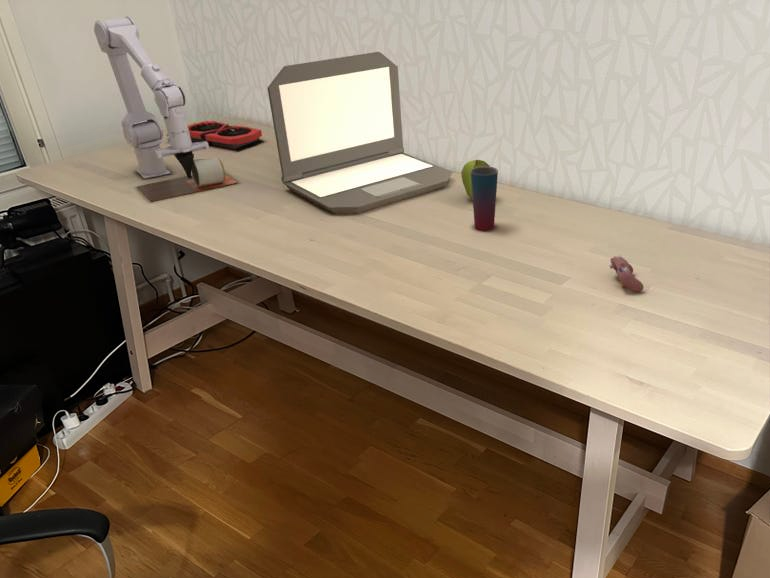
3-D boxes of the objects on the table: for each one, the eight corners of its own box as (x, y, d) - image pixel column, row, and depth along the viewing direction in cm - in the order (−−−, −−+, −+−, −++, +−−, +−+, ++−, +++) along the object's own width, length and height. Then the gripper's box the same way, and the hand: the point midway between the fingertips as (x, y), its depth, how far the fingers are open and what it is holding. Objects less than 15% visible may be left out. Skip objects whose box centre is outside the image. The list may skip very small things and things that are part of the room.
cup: (500, 224, 181) (501, 167, 173) (492, 233, 176) (493, 176, 168) (476, 220, 183) (475, 165, 175) (467, 230, 178) (466, 173, 170)
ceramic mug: (228, 184, 207) (223, 158, 203) (201, 189, 203) (195, 163, 199) (217, 175, 214) (211, 150, 210) (190, 180, 210) (184, 155, 206)
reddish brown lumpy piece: (615, 279, 158) (604, 255, 154) (633, 270, 157) (622, 245, 153) (626, 300, 150) (614, 275, 146) (645, 291, 149) (635, 265, 145)
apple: (465, 193, 200) (465, 154, 194) (494, 195, 199) (494, 155, 192) (458, 204, 193) (457, 163, 187) (488, 206, 192) (488, 165, 185)
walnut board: (137, 187, 207) (137, 186, 206) (220, 170, 219) (220, 169, 219) (151, 201, 196) (151, 200, 196) (237, 183, 209) (237, 182, 209)
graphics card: (223, 156, 231) (221, 144, 229) (163, 141, 245) (160, 130, 243) (268, 141, 245) (266, 130, 242) (209, 128, 259) (206, 117, 257)
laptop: (340, 221, 184) (323, 88, 165) (283, 190, 203) (262, 69, 185) (463, 183, 207) (461, 64, 189) (402, 159, 227) (394, 49, 208)
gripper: (155, 138, 191) (168, 186, 198) (208, 129, 198) (218, 176, 205) (148, 132, 195) (161, 179, 203) (200, 124, 203) (210, 170, 210)
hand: (189, 177), depth 204 cm, fingers closed
